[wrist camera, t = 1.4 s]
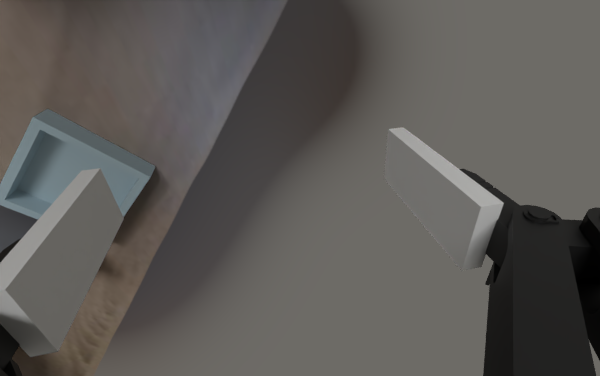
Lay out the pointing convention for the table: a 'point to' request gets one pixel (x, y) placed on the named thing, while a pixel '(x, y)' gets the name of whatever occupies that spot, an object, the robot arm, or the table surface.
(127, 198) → the tray
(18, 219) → the stand
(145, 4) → the table surface
